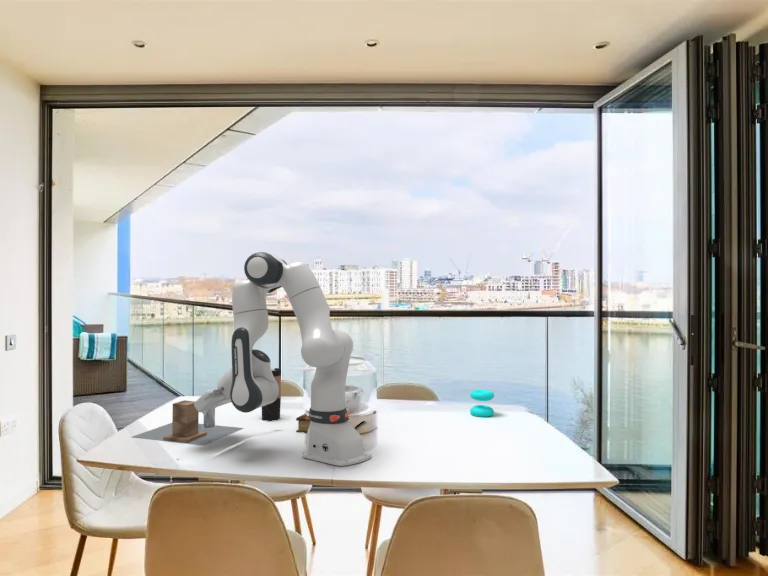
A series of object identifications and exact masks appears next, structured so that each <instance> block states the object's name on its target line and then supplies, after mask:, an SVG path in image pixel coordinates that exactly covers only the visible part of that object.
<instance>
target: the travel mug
mask: <svg viewBox="0 0 768 576" xmlns="http://www.w3.org/2000/svg"><path fill="white" fill-rule="evenodd" d="M271 371H272V374H273V376H274V378H275V380H276V381H277V382H278V385H279V395H278V398H277V399H276V400H275V401H274V402H273V403H270V404H268V405H265V406H262V407H261V420H262V419H263V420H262V421H264V420H268V421H267V422H273V421H272V420H276V421H279V420H280V418H281V402H282V401H281V400H282V393H281V392H282V384H281V383H282V369H281V368H279V367H275V368H271ZM278 419H279V420H278Z"/></svg>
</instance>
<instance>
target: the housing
mask: <svg viewBox="0 0 768 576" xmlns="http://www.w3.org/2000/svg"><path fill="white" fill-rule="evenodd" d="M196 401H197V400H181V401H177V402H174V403H172V422H171V423H172V434H170V435H167V436H165V437H163V440H168V441H177V442H186V443H189V442H192V441H194V440H196V439H199V438H201V437H204V436H206V435H207V432H199V431H198V424H199V415H200V414H199V413H200V412H198V411H197V409H196V408H195V407H194V403H195V402H196Z"/></svg>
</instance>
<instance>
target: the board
mask: <svg viewBox="0 0 768 576" xmlns="http://www.w3.org/2000/svg"><path fill="white" fill-rule="evenodd" d="M244 429H245V427H235V426H226V425H217V424H215V427H214V428H204V423H198V431H199V432H207V435H206V436H204V437H201V438H199V439H196V440H194V441H192V442H189V443H186V442H177V441H168V440H163V437H165V436H167V435H170V434H172V422H170V423H167V424H164V425H162V426H158V427H155V428H153V429H150V430H147V431H144V432H141V433H138V434H135V435H133V436H131V439H132V438H133V439H141V440H150V441H158V442H160V441H162V442H169V443H175V444H176V443H177V444H185V445H186V444H187V445H194V446H202V447H203V446H204V447H205V446H208V445H210V444H212V443H214V442H216V441H219V440H221V439H224V438H225V437H228V436H230V435H232V434H235V433H236V432H239V431H241V430H244Z"/></svg>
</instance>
